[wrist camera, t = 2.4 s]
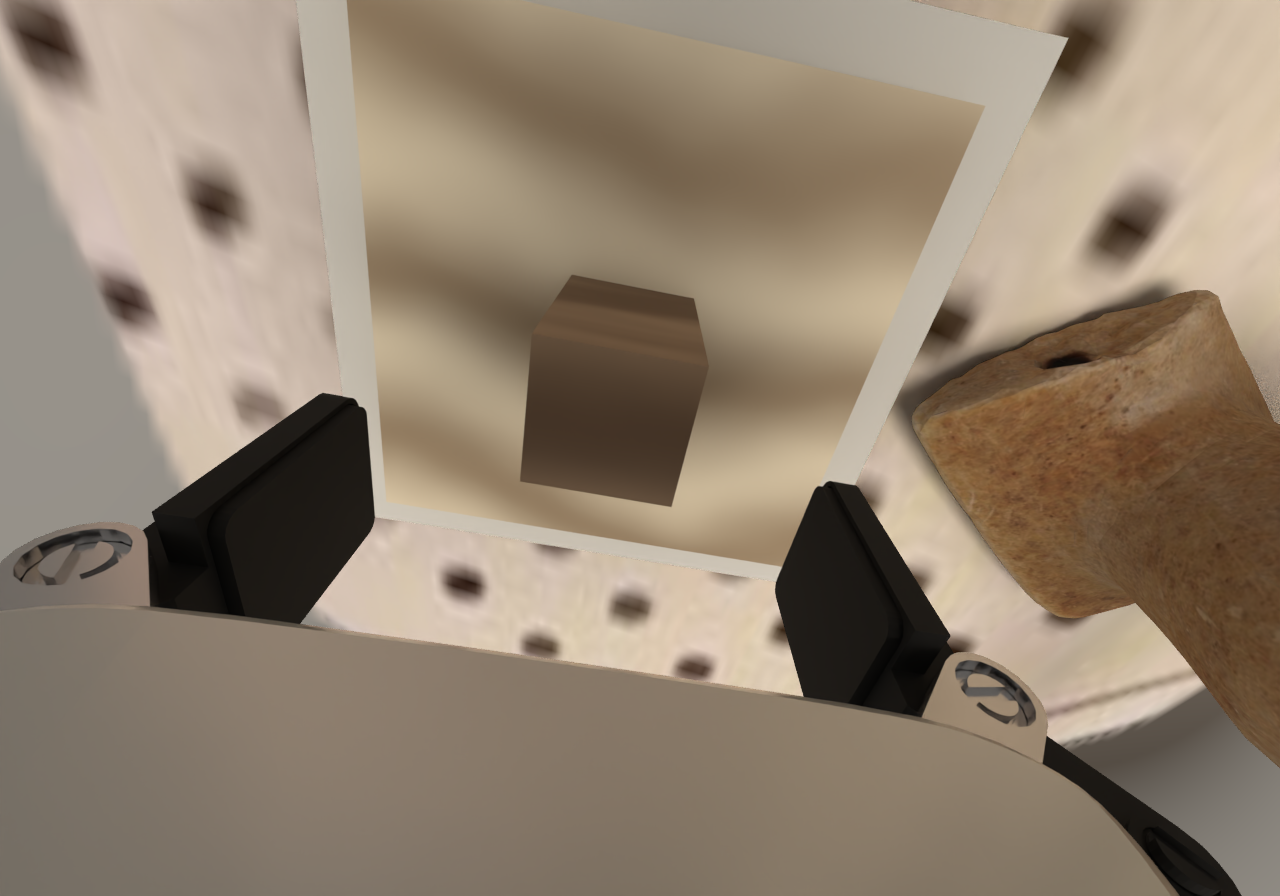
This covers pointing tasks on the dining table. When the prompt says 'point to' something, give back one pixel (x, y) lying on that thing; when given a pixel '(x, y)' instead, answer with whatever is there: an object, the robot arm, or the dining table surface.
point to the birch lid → (628, 266)
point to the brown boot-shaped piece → (1132, 486)
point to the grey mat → (749, 21)
